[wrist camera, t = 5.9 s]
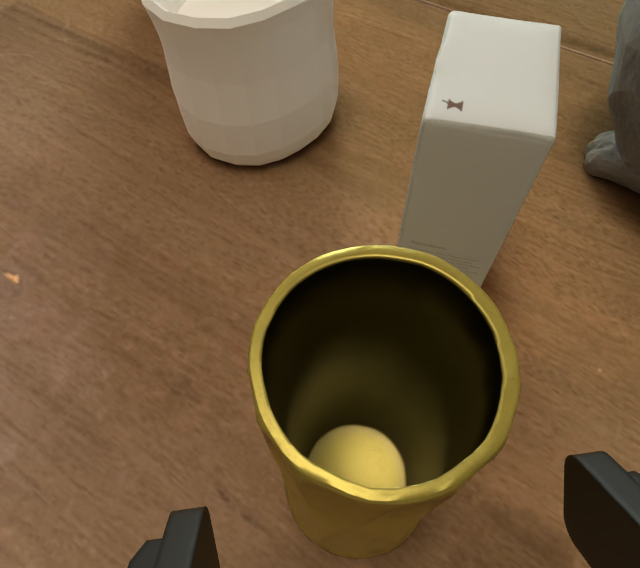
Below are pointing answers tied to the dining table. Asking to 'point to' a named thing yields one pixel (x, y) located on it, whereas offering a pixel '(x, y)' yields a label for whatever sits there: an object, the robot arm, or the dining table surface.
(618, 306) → the dining table surface
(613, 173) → the figurine
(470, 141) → the cosmetic box
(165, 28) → the cup
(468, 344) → the vase
